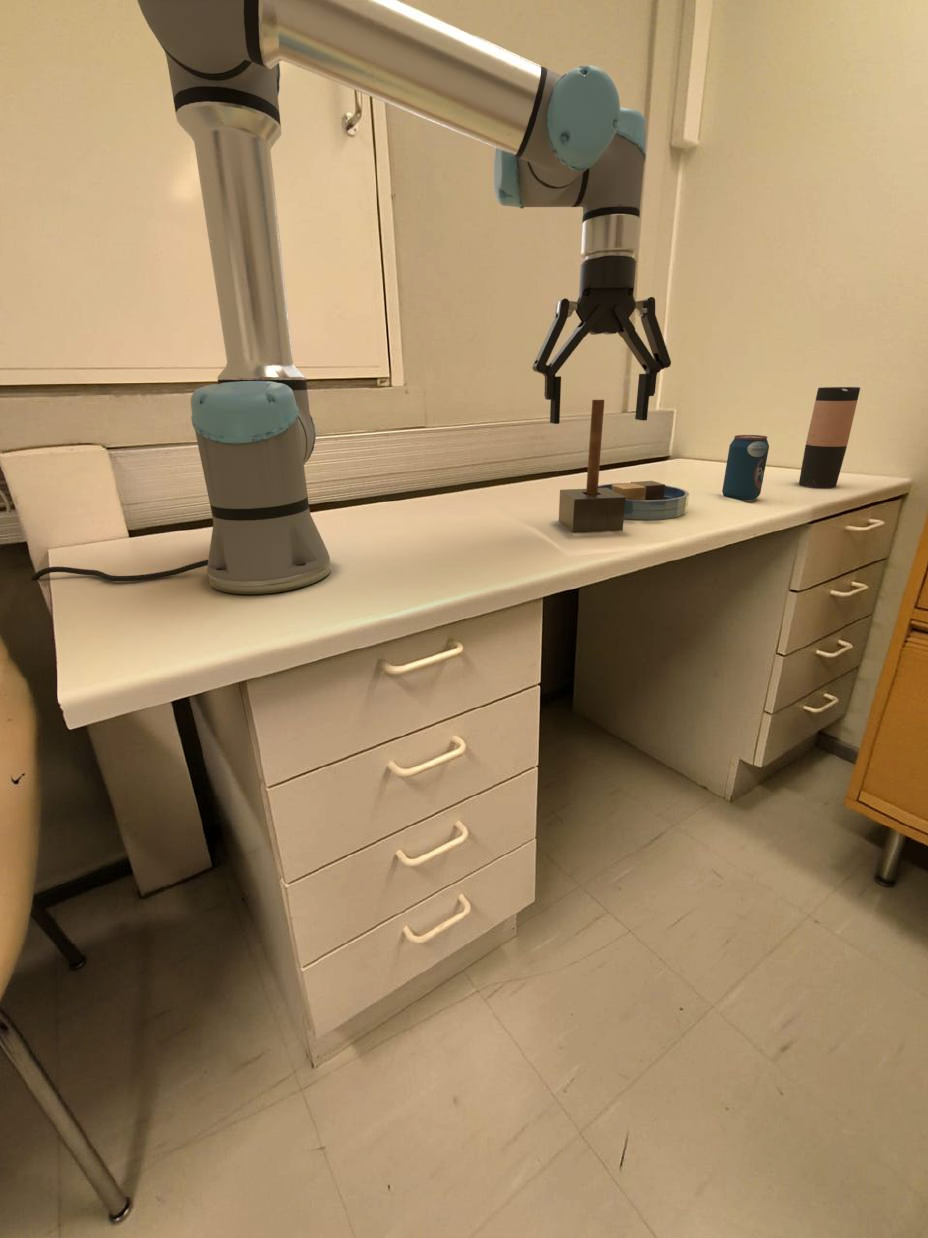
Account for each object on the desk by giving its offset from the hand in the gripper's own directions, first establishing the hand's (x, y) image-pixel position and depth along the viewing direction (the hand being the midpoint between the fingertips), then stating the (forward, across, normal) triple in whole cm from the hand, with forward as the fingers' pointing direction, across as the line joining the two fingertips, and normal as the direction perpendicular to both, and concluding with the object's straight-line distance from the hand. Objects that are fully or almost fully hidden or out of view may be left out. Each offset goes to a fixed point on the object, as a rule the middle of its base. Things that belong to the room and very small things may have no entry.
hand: (598, 421), depth 86 cm
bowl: (+17, -12, -10) cm, 23 cm away
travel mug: (+18, -61, -28) cm, 69 cm away
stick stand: (+17, 0, 0) cm, 17 cm away
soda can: (+17, -37, -18) cm, 44 cm away
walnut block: (+16, -14, -11) cm, 24 cm away
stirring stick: (+17, 0, 0) cm, 17 cm away
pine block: (+16, -10, -9) cm, 21 cm away
